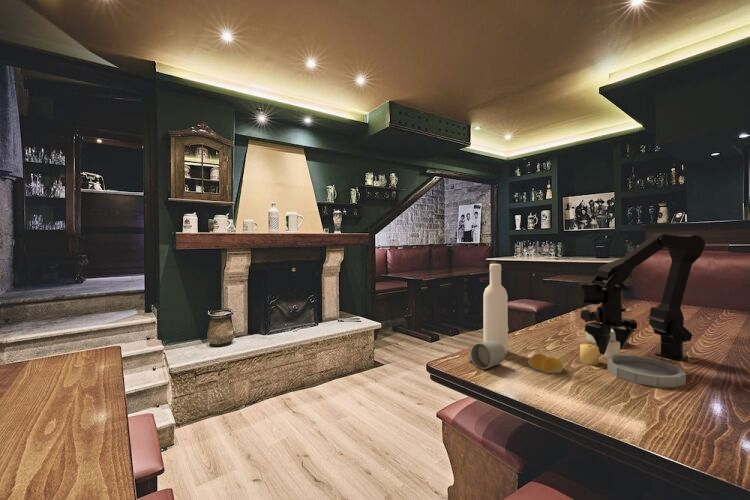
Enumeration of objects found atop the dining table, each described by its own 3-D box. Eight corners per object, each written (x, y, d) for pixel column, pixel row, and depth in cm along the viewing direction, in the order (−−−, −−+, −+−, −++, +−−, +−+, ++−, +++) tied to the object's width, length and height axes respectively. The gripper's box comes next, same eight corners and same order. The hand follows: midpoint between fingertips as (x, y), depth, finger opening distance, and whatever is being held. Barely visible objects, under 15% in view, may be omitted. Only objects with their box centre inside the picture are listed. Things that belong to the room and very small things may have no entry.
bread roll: (556, 376, 98) (556, 362, 97) (525, 368, 104) (525, 355, 104) (567, 369, 103) (568, 356, 103) (537, 361, 110) (537, 348, 110)
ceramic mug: (507, 366, 105) (507, 340, 105) (491, 372, 101) (490, 346, 100) (478, 357, 114) (477, 334, 114) (462, 363, 109) (461, 338, 109)
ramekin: (628, 346, 123) (628, 331, 123) (596, 346, 123) (596, 331, 123) (607, 337, 134) (607, 323, 134) (578, 337, 134) (578, 324, 134)
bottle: (500, 357, 113) (500, 265, 112) (478, 351, 119) (478, 264, 118) (512, 351, 119) (512, 264, 118) (491, 346, 125) (491, 262, 124)
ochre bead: (586, 358, 111) (586, 343, 111) (602, 363, 107) (602, 347, 107) (576, 361, 109) (576, 345, 109) (592, 366, 105) (592, 349, 104)
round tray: (628, 359, 110) (628, 351, 109) (697, 379, 94) (697, 369, 94) (594, 369, 102) (594, 360, 102) (663, 392, 87) (663, 382, 86)
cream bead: (607, 353, 116) (607, 338, 116) (623, 357, 112) (623, 342, 111) (598, 355, 114) (598, 340, 114) (614, 360, 109) (614, 344, 109)
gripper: (603, 298, 124) (602, 341, 124) (569, 303, 115) (568, 349, 116) (638, 303, 114) (637, 350, 114) (603, 309, 105) (603, 359, 106)
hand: (610, 352), depth 113 cm, fingers open, 9 cm apart
